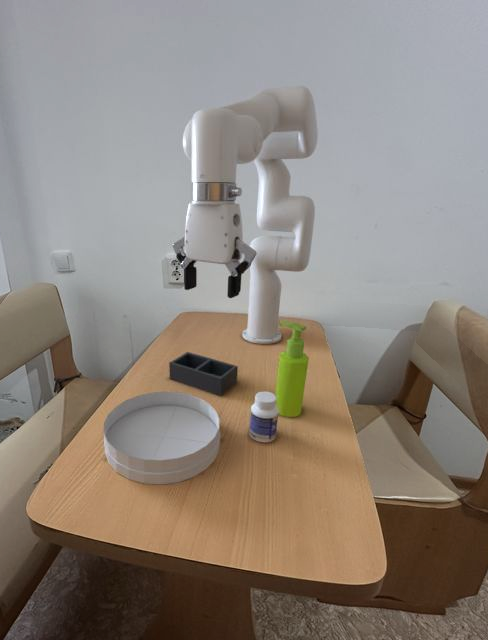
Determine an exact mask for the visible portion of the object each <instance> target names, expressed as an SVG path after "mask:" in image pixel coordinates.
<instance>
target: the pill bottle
mask: <svg viewBox="0 0 488 640" xmlns="http://www.w3.org/2000/svg"><path fill="white" fill-rule="evenodd" d="M278 412H279V410H278V407H277V406H276V396H275V393H273V392H270V391H259V392H257V393H256V394H255V398H254V403H253V404H252V405H251V407H250V418H249V419H250V420H249V431H248V432H249V436H250V437H251V439H253V440H254V441H256V442H259V443H271V442H272V441H274V440H276V437H277V428H278V421H279V420H278V419H279V414H278Z"/></svg>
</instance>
